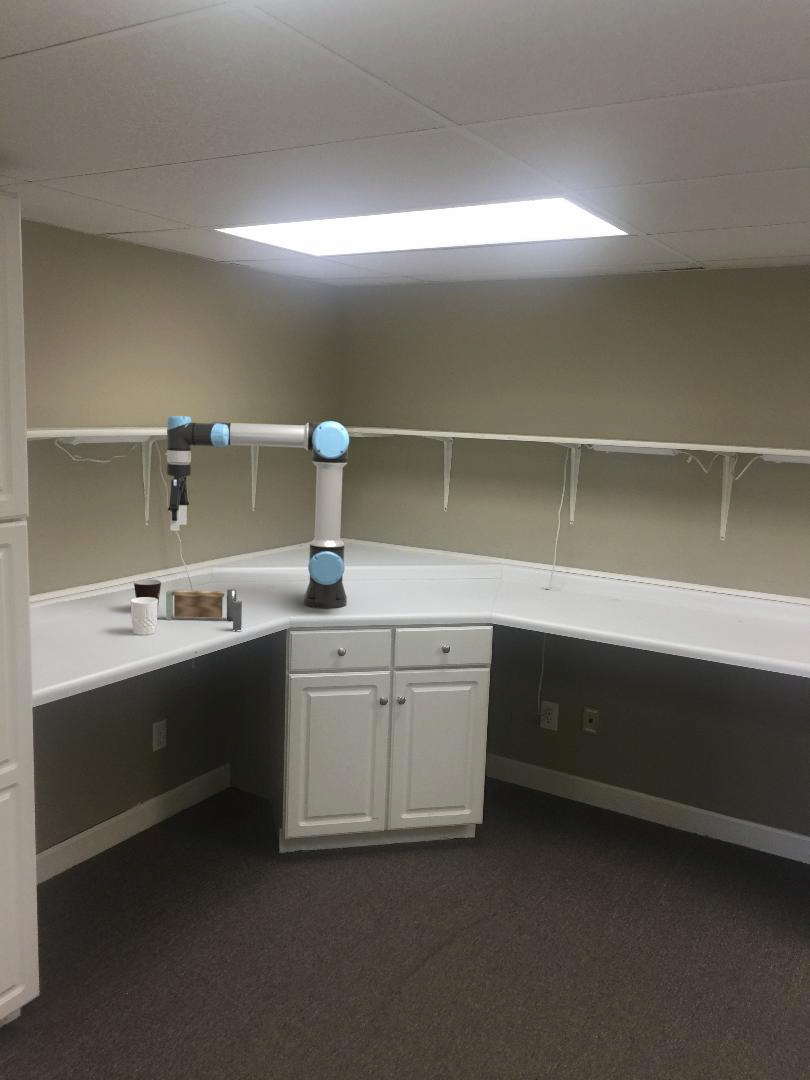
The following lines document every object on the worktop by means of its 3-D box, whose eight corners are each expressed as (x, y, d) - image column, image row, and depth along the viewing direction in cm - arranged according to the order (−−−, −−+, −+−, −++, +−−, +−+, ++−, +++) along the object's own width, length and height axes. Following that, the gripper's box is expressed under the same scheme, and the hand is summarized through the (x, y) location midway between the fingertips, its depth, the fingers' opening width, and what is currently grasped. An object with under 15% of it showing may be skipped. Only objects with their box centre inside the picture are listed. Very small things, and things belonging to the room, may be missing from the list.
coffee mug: (153, 615, 281) (153, 585, 279) (129, 613, 282) (128, 583, 281) (169, 607, 292) (169, 578, 290) (146, 605, 294) (146, 576, 292)
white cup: (132, 636, 256) (132, 603, 254) (129, 629, 263) (129, 597, 261) (159, 634, 259) (159, 602, 257) (156, 628, 266) (156, 596, 264)
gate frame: (245, 619, 281) (246, 589, 280) (240, 631, 267) (241, 599, 265) (167, 617, 279) (168, 587, 277) (158, 629, 264) (158, 597, 263)
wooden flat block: (224, 616, 280) (224, 591, 279) (223, 618, 278) (223, 593, 276) (173, 615, 279) (173, 590, 277) (172, 616, 276) (172, 591, 275)
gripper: (174, 460, 295) (174, 521, 298) (159, 465, 270) (159, 532, 273) (196, 461, 295) (196, 522, 299) (183, 466, 271) (183, 533, 274)
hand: (178, 527), depth 286 cm, fingers open, 13 cm apart
